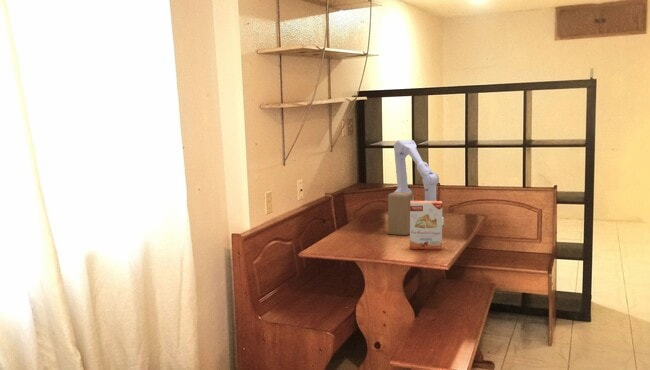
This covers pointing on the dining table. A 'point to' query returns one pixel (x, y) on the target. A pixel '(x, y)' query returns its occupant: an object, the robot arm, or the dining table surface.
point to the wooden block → (399, 213)
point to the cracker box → (426, 225)
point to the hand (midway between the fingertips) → (430, 224)
